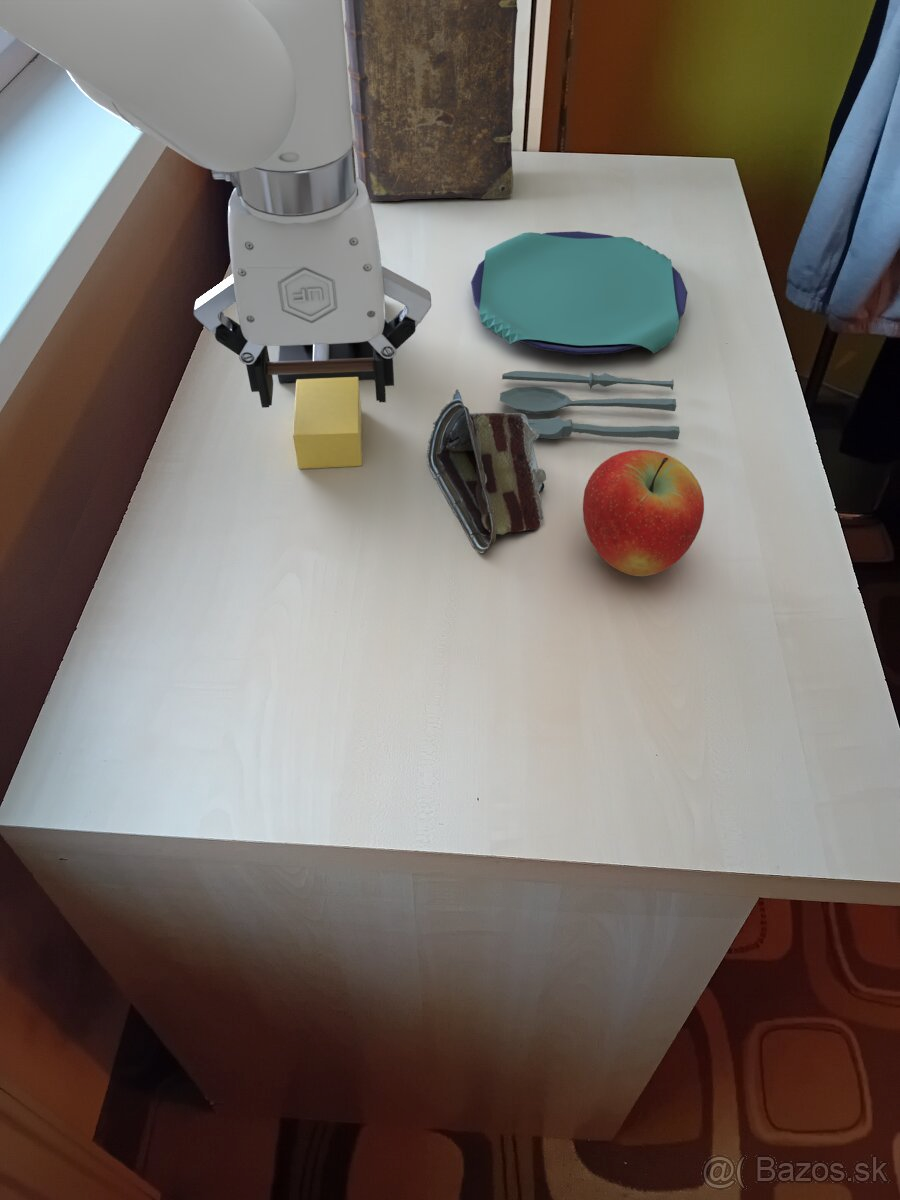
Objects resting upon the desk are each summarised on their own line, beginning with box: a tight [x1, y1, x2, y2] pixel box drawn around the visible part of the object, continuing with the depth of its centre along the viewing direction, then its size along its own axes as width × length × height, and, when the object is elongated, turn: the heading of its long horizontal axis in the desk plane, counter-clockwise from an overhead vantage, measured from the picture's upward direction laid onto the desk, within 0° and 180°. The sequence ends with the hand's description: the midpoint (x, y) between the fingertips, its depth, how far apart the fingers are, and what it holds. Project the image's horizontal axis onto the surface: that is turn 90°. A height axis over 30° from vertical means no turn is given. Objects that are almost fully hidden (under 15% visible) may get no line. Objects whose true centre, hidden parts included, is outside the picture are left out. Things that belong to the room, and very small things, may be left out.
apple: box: [582, 449, 705, 577], centre depth 66 cm, size 8×8×10 cm
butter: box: [292, 377, 363, 470], centre depth 77 cm, size 5×7×3 cm
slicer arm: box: [266, 344, 374, 376], centre depth 77 cm, size 16×8×2 cm, turn 4°
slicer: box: [277, 341, 375, 384], centre depth 83 cm, size 12×9×10 cm
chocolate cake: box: [426, 388, 547, 554], centre depth 73 cm, size 10×7×12 cm
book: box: [344, 0, 519, 202], centre depth 95 cm, size 17×7×25 cm, turn 90°
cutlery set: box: [470, 230, 688, 441], centre depth 86 cm, size 20×30×2 cm, turn 175°
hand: (324, 393), depth 75 cm, fingers closed on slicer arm, 8 cm apart
